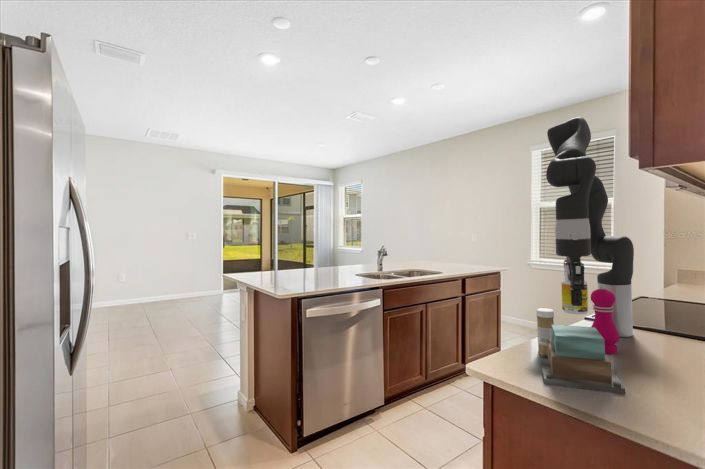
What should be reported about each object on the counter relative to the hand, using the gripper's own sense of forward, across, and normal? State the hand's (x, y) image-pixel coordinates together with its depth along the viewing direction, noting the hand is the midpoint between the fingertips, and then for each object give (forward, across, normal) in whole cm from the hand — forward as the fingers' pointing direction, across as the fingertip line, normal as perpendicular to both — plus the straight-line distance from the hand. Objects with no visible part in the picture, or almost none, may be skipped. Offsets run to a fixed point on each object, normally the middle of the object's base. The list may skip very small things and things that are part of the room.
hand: (574, 302), depth 88 cm
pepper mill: (+19, -21, +10) cm, 30 cm away
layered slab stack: (+19, 0, 0) cm, 19 cm away
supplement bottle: (+3, 0, 0) cm, 3 cm away
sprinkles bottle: (+19, -12, -6) cm, 23 cm away
